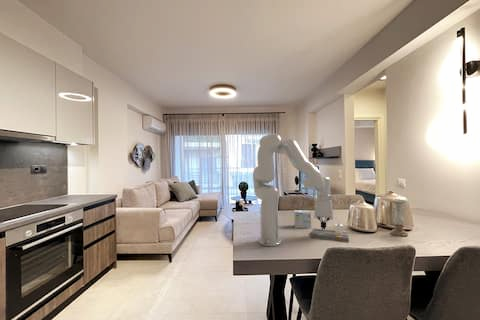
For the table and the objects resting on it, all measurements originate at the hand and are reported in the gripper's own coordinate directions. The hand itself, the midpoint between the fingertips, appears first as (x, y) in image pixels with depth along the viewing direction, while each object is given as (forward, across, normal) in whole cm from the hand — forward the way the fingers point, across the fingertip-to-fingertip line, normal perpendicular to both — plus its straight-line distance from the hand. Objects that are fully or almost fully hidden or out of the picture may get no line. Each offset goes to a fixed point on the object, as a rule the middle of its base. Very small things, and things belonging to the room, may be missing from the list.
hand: (323, 228), depth 135 cm
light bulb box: (+5, +15, -15) cm, 22 cm away
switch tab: (+2, -8, 0) cm, 9 cm away
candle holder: (+4, -41, -20) cm, 46 cm away
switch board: (+4, -4, 0) cm, 6 cm away
